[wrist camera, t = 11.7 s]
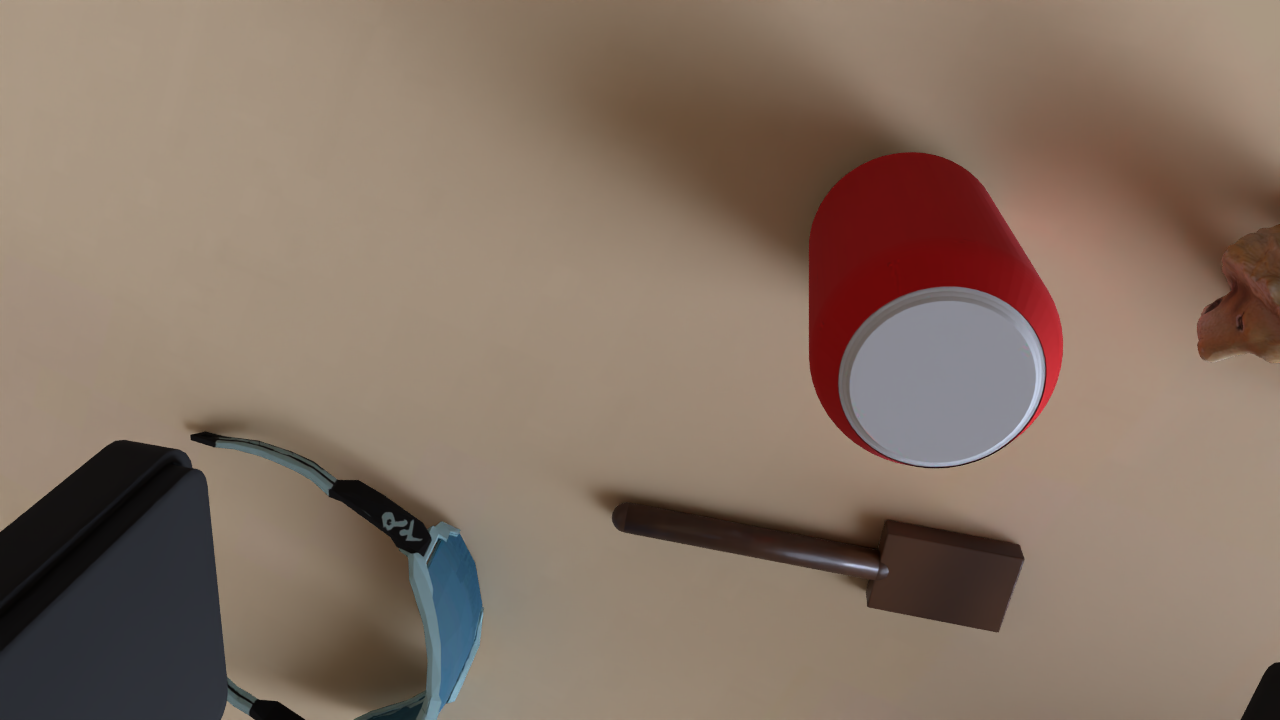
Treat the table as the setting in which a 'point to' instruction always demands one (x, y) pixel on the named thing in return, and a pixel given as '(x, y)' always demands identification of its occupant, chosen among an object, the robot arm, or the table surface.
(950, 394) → the beverage can
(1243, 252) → the lion figurine
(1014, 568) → the brown flat paddle
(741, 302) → the table surface
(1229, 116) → the table surface
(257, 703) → the sunglasses
